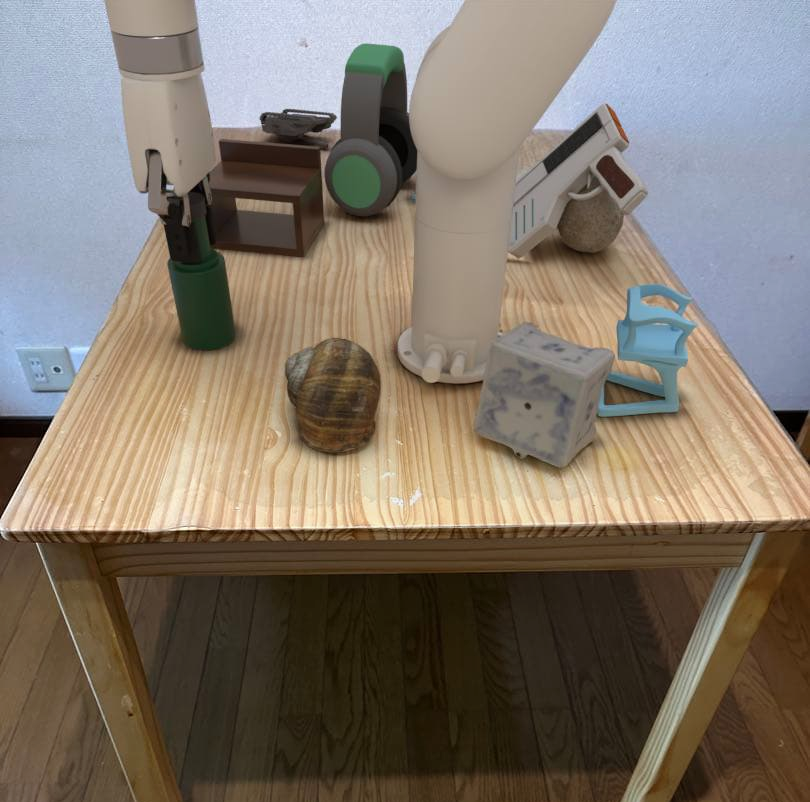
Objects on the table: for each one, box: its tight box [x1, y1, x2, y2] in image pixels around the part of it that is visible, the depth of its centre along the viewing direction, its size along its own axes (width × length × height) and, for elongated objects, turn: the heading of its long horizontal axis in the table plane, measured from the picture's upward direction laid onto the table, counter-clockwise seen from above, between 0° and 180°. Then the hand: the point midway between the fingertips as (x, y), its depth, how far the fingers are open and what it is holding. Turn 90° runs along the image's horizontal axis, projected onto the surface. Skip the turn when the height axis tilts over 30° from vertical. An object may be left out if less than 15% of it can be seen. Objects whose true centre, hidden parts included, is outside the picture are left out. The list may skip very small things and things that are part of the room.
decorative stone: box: [557, 176, 625, 254], centre depth 104 cm, size 10×8×10 cm
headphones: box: [324, 43, 417, 217], centre depth 113 cm, size 19×11×20 cm, turn 164°
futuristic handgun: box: [508, 102, 649, 259], centre depth 100 cm, size 3×20×15 cm
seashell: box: [284, 336, 382, 453], centre depth 76 cm, size 11×9×8 cm
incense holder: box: [473, 321, 616, 468], centre depth 73 cm, size 10×8×10 cm
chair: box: [596, 283, 698, 418], centre depth 78 cm, size 8×8×12 cm
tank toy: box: [259, 108, 338, 149], centre depth 136 cm, size 12×10×5 cm
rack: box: [207, 138, 325, 258], centre depth 106 cm, size 11×14×10 cm
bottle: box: [166, 192, 237, 351], centre depth 84 cm, size 6×6×16 cm
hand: (194, 250), depth 82 cm, fingers closed on bottle, 3 cm apart
